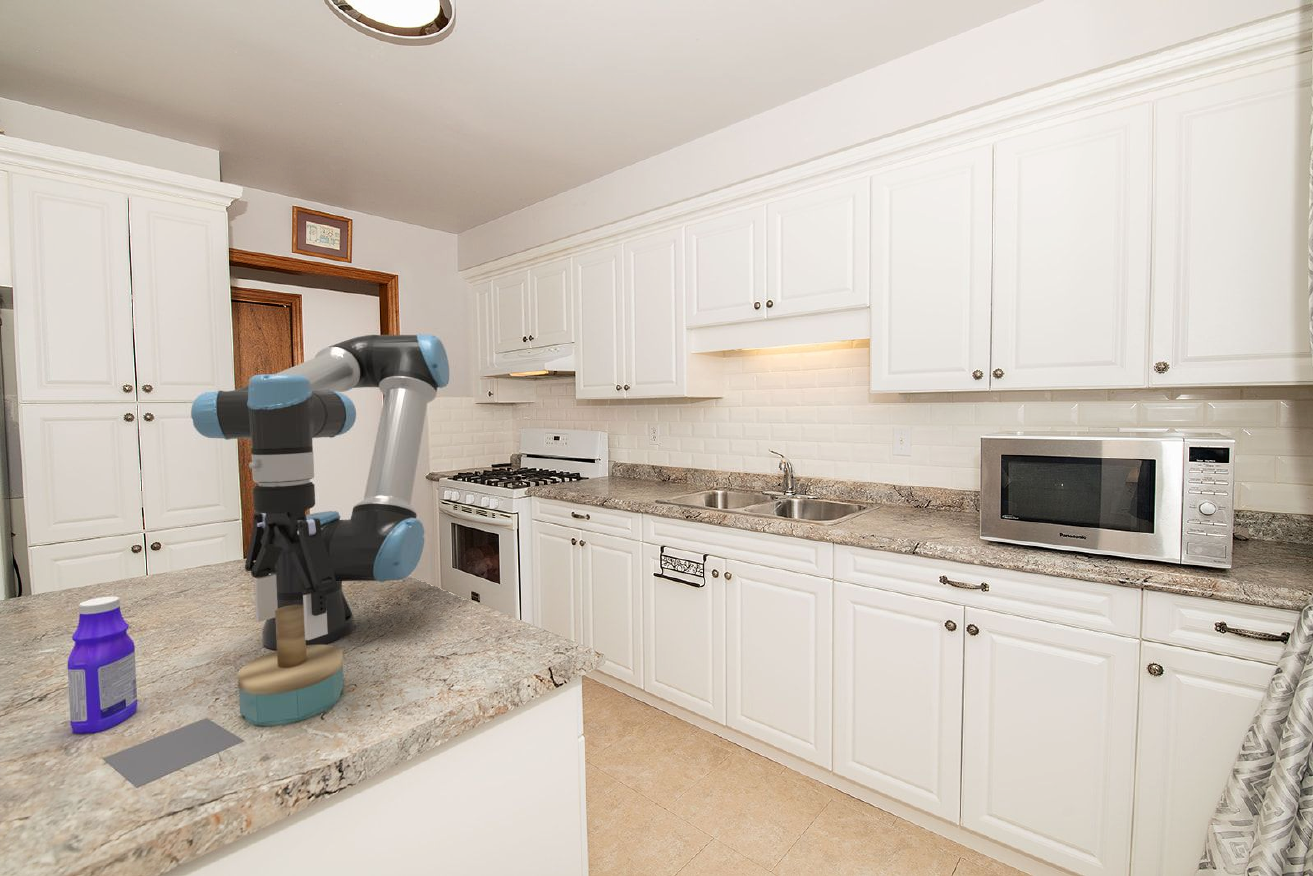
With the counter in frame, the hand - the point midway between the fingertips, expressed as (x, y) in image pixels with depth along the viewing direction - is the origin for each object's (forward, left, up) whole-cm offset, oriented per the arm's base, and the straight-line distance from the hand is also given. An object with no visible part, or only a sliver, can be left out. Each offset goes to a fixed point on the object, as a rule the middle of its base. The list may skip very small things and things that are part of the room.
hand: (290, 627), depth 86 cm
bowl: (0, 0, -12) cm, 12 cm away
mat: (-1, -14, -12) cm, 18 cm away
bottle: (-18, -16, -12) cm, 27 cm away
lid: (0, 0, -7) cm, 7 cm away
